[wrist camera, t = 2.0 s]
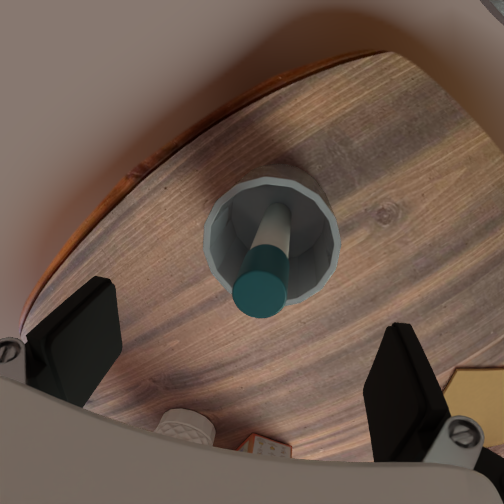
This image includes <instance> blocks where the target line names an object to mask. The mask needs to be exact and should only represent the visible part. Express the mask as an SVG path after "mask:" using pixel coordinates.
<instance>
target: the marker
mask: <svg viewBox="0 0 504 504" xmlns="http://www.w3.org/2000/svg"><path fill="white" fill-rule="evenodd" d="M291 217H292V216H291V212H290V210H289V208H288V207H287V206H285V205H284V204H281V203H274V204H272V205H270V206H269V207H268V208H267V209H266V211H265V213H264V215H263V218H262V220H261V223H260V225H259V228H258V231H257V233H256V236H255V238H254V241H253V243H252V246H251V248H250V250H249V251H248V252H247V254H246V256H245V258H244V260H243V262H242V265H241V267H240V270H239V272H238V275H237V277H236V279H235V282H234V284H233V288H232V297H233V300H234V302H235V304H236V306H237V307H238V308H239V309H240V310H241V311H242V312H243V313H245V314H246V315H248V316H251V317H255V318H267V317H271V316H273V315H275V314H277V313H278V312H279V311H281V310H282V308H283V307H284V305H285V303H286V300H287V292H288V280H289V260H288V254H289V242H290V230H291Z"/></svg>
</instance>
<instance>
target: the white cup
mask: <svg viewBox="0 0 504 504" xmlns="http://www.w3.org/2000/svg"><path fill="white" fill-rule="evenodd" d="M154 432H155V433H159V434H162V435H166V436H170V437H174V438H178V439H182V440H186V441H190V442H195V443H199V444H204V445H208V446H213V443H214V439H215V434H216V431H215V428H214V425H213V424H212V423H211V422H210V421H209V420H208V419H207V418H206V417H205V416H203V415H201V414H199V413H197V412H195V411H191V410H187V409H182V408H179V409H170V410H169V411H167V412H166V413H164V415H163V416H162V418H161V420H160V422H159V424H158V426H157V428H156V429H155V431H154Z"/></svg>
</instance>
